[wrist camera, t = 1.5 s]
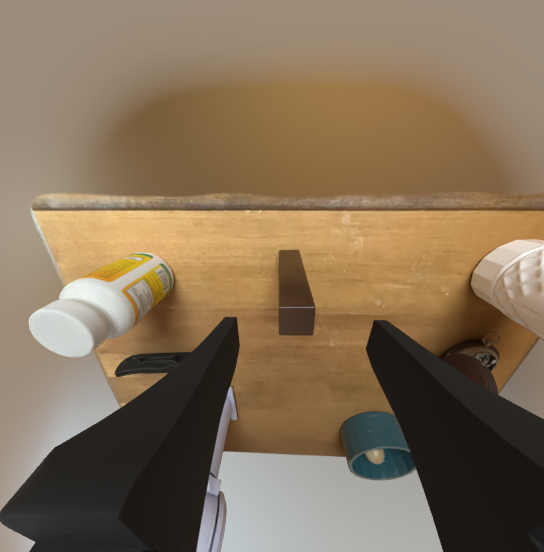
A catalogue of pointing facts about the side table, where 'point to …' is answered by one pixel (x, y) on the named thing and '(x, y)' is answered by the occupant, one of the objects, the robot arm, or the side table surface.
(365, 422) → the bowl
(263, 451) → the side table surface
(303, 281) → the stirring stick
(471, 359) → the compass
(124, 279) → the supplement bottle
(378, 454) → the bead
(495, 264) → the white cup
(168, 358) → the folding knife
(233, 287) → the side table surface
